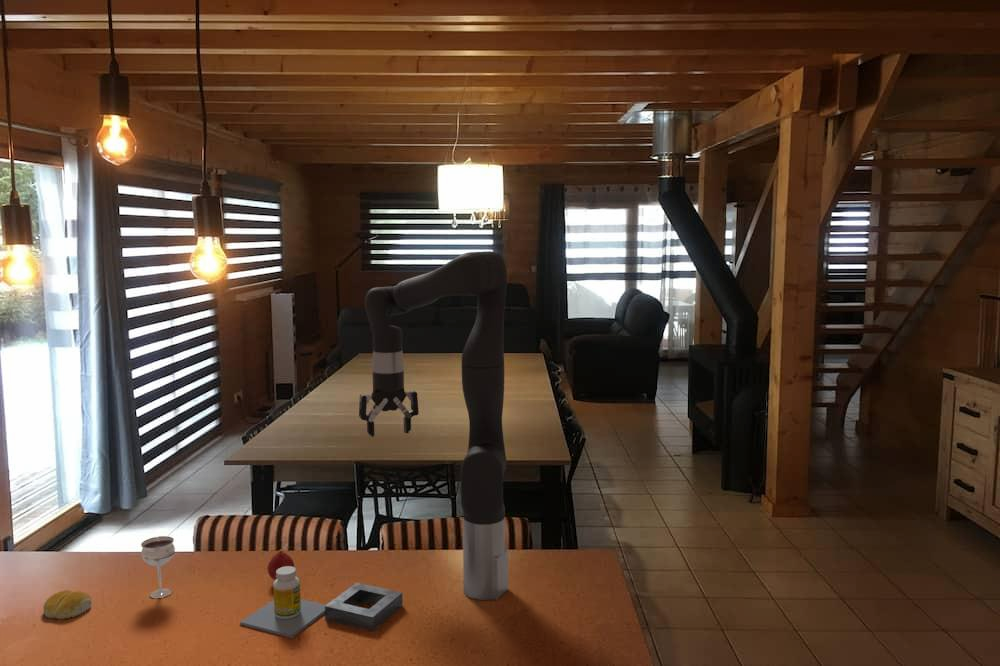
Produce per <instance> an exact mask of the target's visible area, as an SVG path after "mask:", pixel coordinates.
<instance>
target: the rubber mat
mask: <svg viewBox="0 0 1000 666" xmlns="http://www.w3.org/2000/svg"><path fill="white" fill-rule="evenodd" d="M300 601H301V612H300V613H299V615H297V616H296V617H294V618H290V619H280V618H277V617H276V616H275V613H274V599H273V600H270V601H269V602H268V603H266V604H265V605H263V606H262V607H261V608H258V610H256V611H255V612H253V613H251V614H250V615H248V616H247V617H245V618H244V619H242V620H241V621H239V625H240V626H244V627H247V628H251V629H256V630H259V631H262V632H266V633H270V634H274V635H278V636H283V637H285V638H289V639H293V638H294V637H295V636H297V635H298V634H299V633H301V632H302V631H303V630H305V629H306V628H307V627H309V626H310V625H311V624H313V623H314V622H316V621H317V620H318V619H319V618H321V617H322V616H323V615H324V614H325V605H326V604H323V603H319V602H315V601H311V600H306V599H303V598H300Z"/></svg>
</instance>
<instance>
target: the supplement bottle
mask: <svg viewBox="0 0 1000 666" xmlns="http://www.w3.org/2000/svg"><path fill="white" fill-rule="evenodd" d="M276 578H277V579H276V580H273V583H272V584H273V585H272V588H273V590H272V591H273V600H274V613H275V616H276V617H277V618H280V619H290V618H294V617H296V616H297V615H299V613H300V612H301V601H300V599H301V582H300V579H299V577H297V568H296V567H295V566H294V567H292V566H285V567H281V568H279V569H277V571H276Z"/></svg>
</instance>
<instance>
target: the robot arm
mask: <svg viewBox="0 0 1000 666" xmlns="http://www.w3.org/2000/svg"><path fill="white" fill-rule="evenodd" d="M507 285H508V271H507V266H506V262H505V260H504V258H503V257H502V255H500V254H499V253H498V252H496V251H490V250H489V251H469V252H465V253H462V254H459V255H458V256H456V257H455V258H453V259H452V260H450V261H447V263H445V264H444V265H441V266H440V267H438V268H436V269H434V270H432V271H429V272H427V273H423V274H420V275H416V276H412V277H411V278H407V279H404V280H402V281H400V282H399V283H397V284H396V285H393V286H391V285H390V286H380V287H379V286H378V287H373V288H371V289H369V290H368V291H367V293H366V295H365V298H364V309H365V312H366V316H367V319H368V322H369V323H368V324H369V327H370V329H371V334H372V362H371V364H372V365H371V369H372V392H371V394H365V393H360V394H359V402H358V404H359V408H358V410H359V411H358V417H359V418H360V419H361V420H362V421H366V432H367V434H368V435H369V437H371V438H372V437H375V419H376V417H377V416H378V415H379V414H380V412H381V411H382V412H389V411H392V412H393V411H397V410H399V411H400V412H401V413H402V414H403V416H404V417H403V432H404V434H409V432H410V431H411V429H412V417H414V416H418V415H419V400H418V399H419V398H418V392H417V391H415V390H414V389H411V390H410V391H405V367H404V366H405V365H404V364H405V361H404V353H403V352H404V351H403V331H402V329H401V328H400V327H399V326H396V325H391V324H390V322H389V321H388V317H392V316H399V315H403V314H406V313H408V312H410V311H411V310H415V309H419V308H423V307H426V306H429V305H431V304H434V303H435V302H437V301H438V300H440V299H441V298H445V297H453V296H456V297H457V296H470V297H477V308H476V309H477V311H476V318H475V321H474V325H473V327H472V330H471V332H470V334H469V336H468V338H467V340H466V343H465V346H464V347H463V350H462V353H461V384H462V385H461V386H462V392H463V398H464V402H465V405H466V410H467V414H468V420H469V424H468V425H469V429H468V430H469V433H468V434H469V435H468V444H467V445H468V446H467V447H468V449H467V453H466V455H465V456H464V458H463V460H462V463H461V466H460V505H461V509H462V517H463V518H462V540H463V541H462V542H463V543H462V545H463V546H462V547H463V548H462V556H463V557H462V559H463V561H462V563H463V565H462V566H463V568H462V569H463V572H462V573H463V576H462V577H463V578H462V579H463V581H462V584H463V593H464V595H465V596H467V597H469V598H471V599H474V600H480V601H486V600H487V601H489V600H495V601H498V600H499V599H500V598H501V597H502V596H503V595H504V594H505V592H506V591H507V590H508V589H509V549H508V547H506V545H505V544H506V543H505V542H506V541H505V540H506V539H505V537H506V536H505V535H506V534H505V533H506V530H505V529H506V527H505V526H506V525H505V524H506V523H505V521H506V506H505V503H504V474H505V471H506V469H507V456H506V447H505V442H504V441H505V439H504V432H503V412H504V401H505V400H504V395H505V354H504V353H505V352H504V338H505V335H504V333H505V332H504V331H505V327H504V326H505V309H506V300H507V299H506V298H507V297H506V296H507V288H508V287H507ZM406 397H407V399H408V400H409V401H410V410H408V409H407V408H406V406H405V405H404V404H403V402H404V401H405V399H406ZM371 400H372V401H373V405H372V407H371V408H370V410H369V412H368V414H367V405H368V404H369V403H370V401H371Z"/></svg>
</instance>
